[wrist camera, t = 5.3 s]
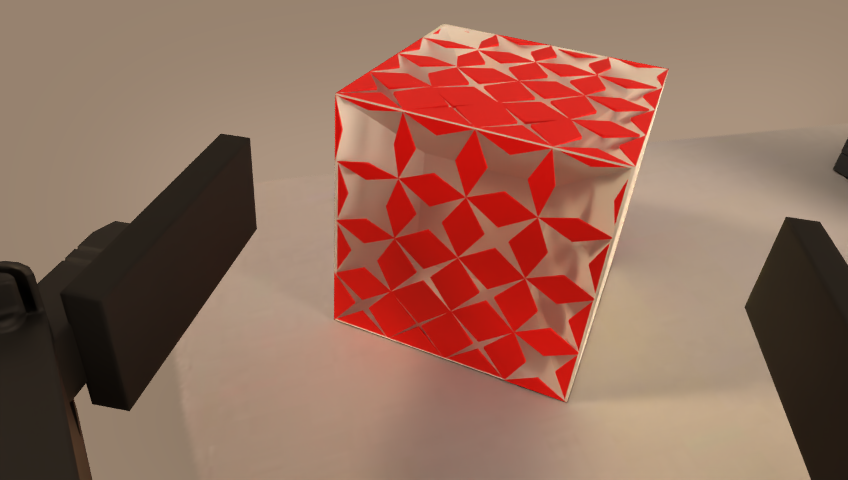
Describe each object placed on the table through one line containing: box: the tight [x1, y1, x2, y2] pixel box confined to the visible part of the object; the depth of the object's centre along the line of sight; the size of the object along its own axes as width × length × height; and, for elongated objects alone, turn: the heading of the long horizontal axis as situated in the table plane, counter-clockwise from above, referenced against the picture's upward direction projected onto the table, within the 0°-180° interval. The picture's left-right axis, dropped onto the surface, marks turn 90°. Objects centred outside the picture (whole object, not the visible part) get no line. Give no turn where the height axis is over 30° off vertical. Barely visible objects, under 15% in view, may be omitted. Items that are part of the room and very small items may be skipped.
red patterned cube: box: [334, 24, 669, 402], centre depth 22 cm, size 8×8×8 cm
